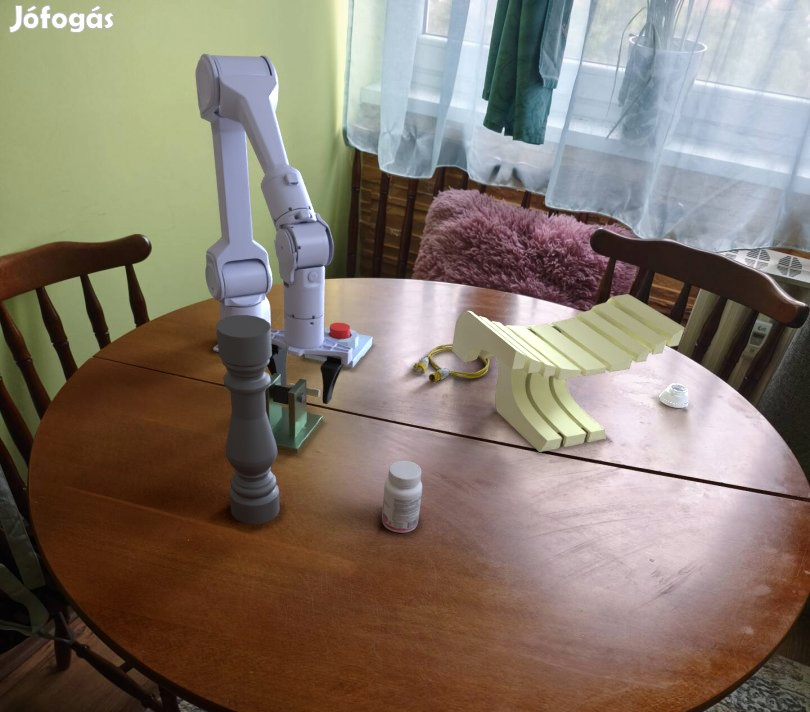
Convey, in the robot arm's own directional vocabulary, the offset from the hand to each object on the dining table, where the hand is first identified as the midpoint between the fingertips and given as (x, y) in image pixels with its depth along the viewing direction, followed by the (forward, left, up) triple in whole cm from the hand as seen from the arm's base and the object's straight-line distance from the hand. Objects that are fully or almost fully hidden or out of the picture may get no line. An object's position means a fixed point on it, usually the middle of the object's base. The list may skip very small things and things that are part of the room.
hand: (304, 395), depth 108 cm
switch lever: (+5, 0, +2) cm, 5 cm away
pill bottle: (+21, +22, -3) cm, 31 cm away
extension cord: (-26, +18, -3) cm, 31 cm away
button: (-22, -2, +1) cm, 22 cm away
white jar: (-29, +58, -3) cm, 65 cm away
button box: (-22, -2, -3) cm, 22 cm away
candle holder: (+27, +4, -3) cm, 27 cm away
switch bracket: (+7, 0, -3) cm, 8 cm away
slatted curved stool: (-14, +37, -3) cm, 40 cm away
